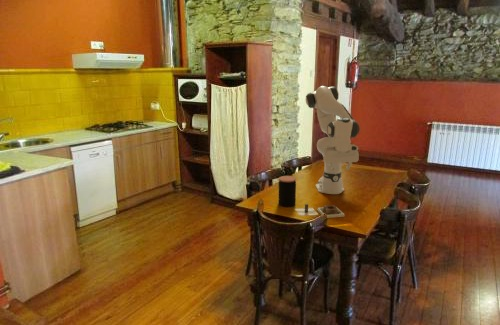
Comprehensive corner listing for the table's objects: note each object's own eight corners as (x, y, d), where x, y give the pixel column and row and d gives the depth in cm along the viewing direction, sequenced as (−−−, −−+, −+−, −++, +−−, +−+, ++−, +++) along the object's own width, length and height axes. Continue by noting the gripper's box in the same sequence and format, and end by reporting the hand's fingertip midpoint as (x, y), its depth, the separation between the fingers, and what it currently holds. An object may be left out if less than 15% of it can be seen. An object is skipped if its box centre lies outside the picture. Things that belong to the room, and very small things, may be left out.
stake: (294, 210, 213) (294, 201, 212) (312, 209, 215) (312, 200, 214) (300, 217, 203) (300, 208, 202) (318, 216, 205) (318, 207, 203)
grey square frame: (316, 211, 211) (317, 207, 211) (335, 210, 213) (335, 206, 213) (324, 219, 200) (324, 215, 199) (344, 218, 202) (344, 214, 201)
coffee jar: (298, 207, 218) (299, 179, 213) (282, 209, 215) (283, 181, 210) (290, 201, 228) (291, 175, 223) (275, 203, 224) (276, 176, 220)
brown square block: (326, 216, 203) (326, 209, 202) (323, 211, 209) (324, 205, 208) (337, 215, 203) (337, 209, 202) (334, 211, 209) (334, 205, 208)
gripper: (326, 148, 195) (325, 172, 199) (361, 147, 198) (358, 170, 202) (322, 145, 201) (321, 168, 205) (356, 144, 204) (354, 167, 208)
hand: (340, 169), depth 203 cm, fingers open, 8 cm apart
